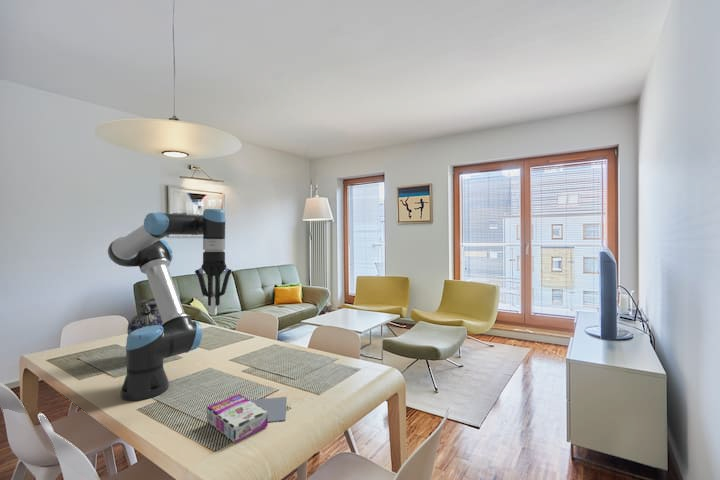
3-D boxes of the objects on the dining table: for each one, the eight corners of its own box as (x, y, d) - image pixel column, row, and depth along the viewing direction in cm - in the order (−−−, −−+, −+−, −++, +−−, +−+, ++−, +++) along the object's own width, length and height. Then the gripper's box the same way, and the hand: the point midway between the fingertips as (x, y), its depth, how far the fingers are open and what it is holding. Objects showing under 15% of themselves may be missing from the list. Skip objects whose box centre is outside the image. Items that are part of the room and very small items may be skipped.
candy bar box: (206, 422, 105) (233, 444, 94) (206, 406, 105) (233, 427, 94) (240, 408, 113) (268, 426, 103) (239, 393, 113) (268, 410, 102)
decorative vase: (169, 361, 160) (168, 301, 160) (122, 367, 153) (121, 305, 153) (175, 348, 180) (174, 295, 180) (134, 353, 173) (132, 298, 173)
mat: (224, 427, 103) (224, 426, 103) (233, 402, 119) (233, 401, 119) (285, 420, 106) (285, 419, 106) (286, 397, 122) (286, 396, 122)
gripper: (192, 251, 122) (191, 317, 122) (230, 251, 124) (230, 316, 124) (198, 250, 129) (198, 312, 129) (234, 250, 132) (234, 311, 132)
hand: (213, 314), depth 127 cm, fingers closed
